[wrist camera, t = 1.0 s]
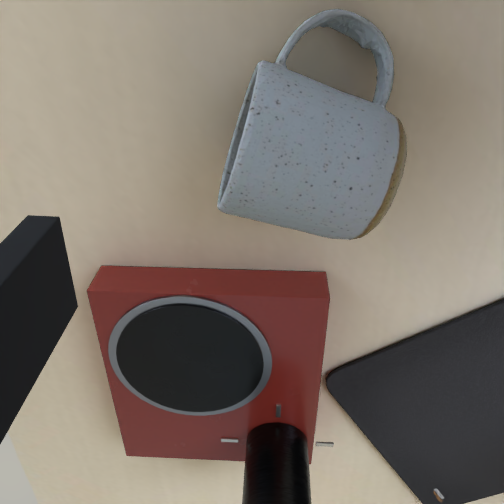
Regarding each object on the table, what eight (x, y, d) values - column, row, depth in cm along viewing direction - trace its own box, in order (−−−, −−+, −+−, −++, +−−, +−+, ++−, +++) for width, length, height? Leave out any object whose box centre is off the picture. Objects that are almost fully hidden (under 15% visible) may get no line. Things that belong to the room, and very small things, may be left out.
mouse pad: (317, 375, 37) (318, 378, 37) (583, 265, 31) (586, 268, 30) (429, 509, 47) (430, 513, 47) (651, 448, 40) (653, 452, 40)
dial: (309, 423, 36) (315, 517, 30) (305, 461, 39) (310, 555, 33) (246, 420, 36) (239, 514, 30) (246, 458, 39) (240, 551, 33)
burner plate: (274, 297, 30) (274, 301, 29) (270, 416, 36) (270, 420, 36) (95, 291, 30) (93, 295, 30) (122, 410, 37) (120, 414, 36)
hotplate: (349, 272, 32) (355, 300, 29) (325, 445, 42) (328, 478, 40) (101, 265, 33) (85, 292, 30) (137, 437, 43) (128, 468, 41)
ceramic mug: (345, 210, 29) (365, 278, 23) (221, 174, 28) (206, 235, 22) (422, 36, 24) (478, 60, 17) (274, -15, 23) (273, -10, 17)
